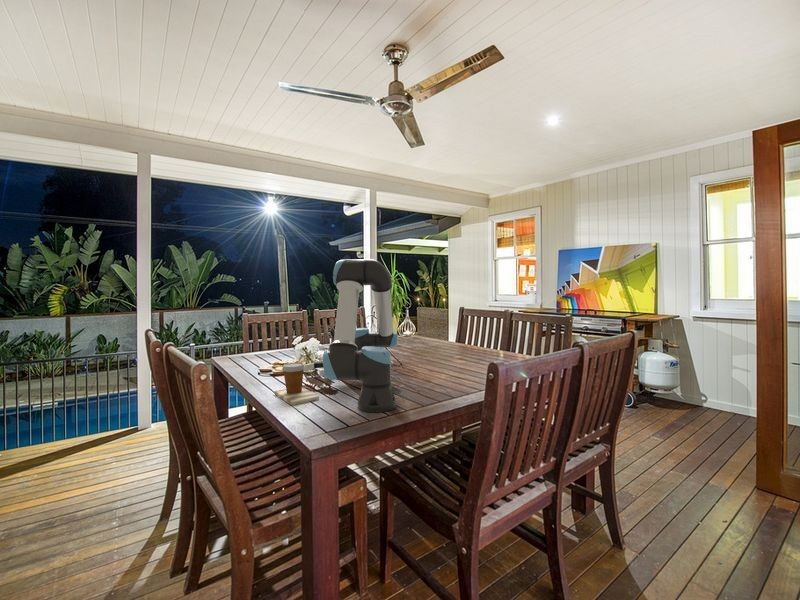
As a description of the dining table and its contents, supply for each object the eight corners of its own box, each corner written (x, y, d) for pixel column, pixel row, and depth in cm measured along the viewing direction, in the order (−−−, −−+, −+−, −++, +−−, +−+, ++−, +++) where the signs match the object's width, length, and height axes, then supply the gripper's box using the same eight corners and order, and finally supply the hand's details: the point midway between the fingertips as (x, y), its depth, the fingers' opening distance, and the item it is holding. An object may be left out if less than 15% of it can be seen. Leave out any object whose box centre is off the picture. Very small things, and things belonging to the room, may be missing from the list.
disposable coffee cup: (294, 396, 160) (293, 368, 159) (278, 393, 164) (277, 365, 164) (310, 390, 168) (309, 363, 168) (293, 387, 173) (293, 361, 172)
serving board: (319, 399, 160) (318, 395, 160) (291, 405, 153) (291, 401, 153) (300, 389, 175) (300, 386, 175) (274, 394, 168) (274, 391, 168)
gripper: (364, 374, 177) (328, 384, 161) (331, 366, 194) (294, 374, 178) (364, 358, 177) (327, 366, 161) (330, 351, 193) (294, 358, 177)
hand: (310, 370), depth 169 cm, fingers open, 13 cm apart
